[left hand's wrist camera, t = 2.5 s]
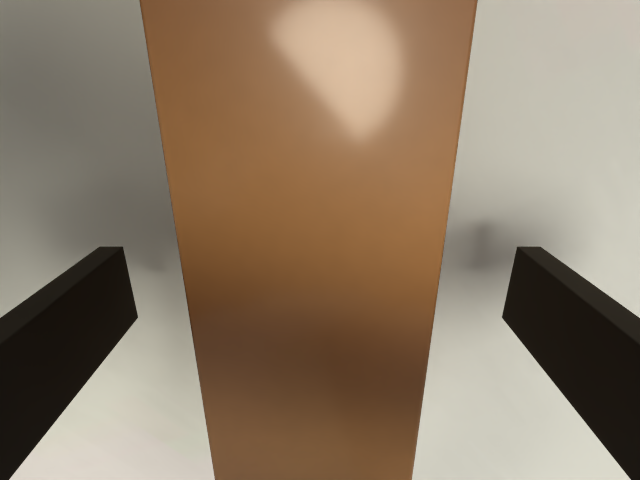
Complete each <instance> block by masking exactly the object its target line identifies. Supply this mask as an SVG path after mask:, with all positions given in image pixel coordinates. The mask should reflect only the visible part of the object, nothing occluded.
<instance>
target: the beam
mask: <svg viewBox="0 0 640 480" xmlns="http://www.w3.org/2000/svg"><path fill="white" fill-rule="evenodd" d="M477 1H478V0H140V6H141V12H142V19H143V25H144V31H145V38H146V44H147V50H148V57H149V63H150V70H151V76H152V82H153V89H154V95H155V101H156V108H157V114H158V120H159V127H160V133H161V139H162V146H163V152H164V158H165V165H166V171H167V177H168V184H169V190H170V196H171V203H172V209H173V216H174V222H175V228H176V235H177V241H178V247H179V254H180V260H181V266H182V273H183V279H184V285H185V292H186V298H187V304H188V311H189V317H190V323H191V330H192V336H193V343H194V349H195V355H196V362H197V368H198V374H199V381H200V387H201V393H202V400H203V406H204V412H205V419H206V425H207V431H208V438H209V444H210V450H211V457H212V463H213V469H214V476H215V480H412V474H413V466H414V459H415V452H416V445H417V437H418V430H419V423H420V416H421V408H422V401H423V394H424V387H425V379H426V372H427V365H428V357H429V350H430V343H431V336H432V328H433V321H434V314H435V307H436V299H437V292H438V285H439V278H440V270H441V263H442V256H443V248H444V241H445V234H446V227H447V219H448V212H449V205H450V198H451V190H452V183H453V176H454V168H455V161H456V154H457V147H458V139H459V132H460V125H461V118H462V110H463V103H464V96H465V89H466V81H467V74H468V67H469V59H470V52H471V45H472V38H473V30H474V23H475V16H476V9H477Z"/></svg>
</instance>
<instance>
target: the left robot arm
mask: <svg viewBox="0 0 640 480" xmlns="http://www.w3.org/2000/svg"><path fill="white" fill-rule="evenodd" d="M137 318H138V315H137V311H136V306H135V301H134V297H133V292H132V287H131V283H130V278H129V273H128V269H127V264H126V259H125V255H124V250H123V247H99V248H97V249H96V250H94V251H93V252H92V253H90V254H89V255H88V256H86V257H85V258H83V259H82V260H81V261H79V262H78V263H76V264H75V265H74V266H72V267H71V268H69V269H68V270H67V271H65V272H64V273H62V274H61V275H60V276H58V277H57V278H55V279H54V280H53V281H51V282H50V283H49V284H47V285H46V286H44V287H43V288H42V289H40V290H39V291H37V292H36V293H35V294H33V295H32V296H30V297H29V298H28V299H26V300H25V301H23V302H22V303H21V304H19V305H18V306H16V307H15V308H14V309H12V310H11V311H10V312H8V313H7V314H5V315H4V316H3V317H1V318H0V480H9V479H10V478H11V476H12V475H13V474H14V473H15V471H16V470H17V469H18V468H19V466H20V465H21V464H22V463H23V461H24V460H25V459H26V458H27V456H28V455H29V454H30V453H31V451H32V450H33V449H34V448H35V446H36V445H37V444H38V442H39V441H40V440H41V439H42V437H43V436H44V435H45V434H46V432H47V431H48V430H49V429H50V427H51V426H52V425H53V424H54V422H55V421H56V420H57V419H58V417H59V416H60V415H61V414H62V412H63V411H64V410H65V409H66V407H67V406H68V405H69V404H70V402H71V401H72V400H73V398H74V397H75V396H76V395H77V393H78V392H79V391H80V390H81V388H82V387H83V386H84V385H85V383H86V382H87V381H88V380H89V378H90V377H91V376H92V375H93V373H94V372H95V371H96V370H97V368H98V367H99V366H100V365H101V363H102V362H103V361H104V360H105V358H106V357H107V356H108V354H109V353H110V352H111V351H112V349H113V348H114V347H115V346H116V344H117V343H118V342H119V341H120V339H121V338H122V337H123V336H124V334H125V333H126V332H127V331H128V329H129V328H130V327H131V326H132V324H133V323H134V322H135V321H136V319H137ZM502 318H503V319H504V321H505V322H506V323H507V324H508V326H509V327H510V328H511V329H512V331H513V332H514V333H515V334H516V336H517V337H518V338H519V339H520V341H521V342H522V343H523V344H524V346H525V347H526V348H527V349H528V351H529V352H530V353H531V354H532V356H533V357H534V358H535V360H536V361H537V362H538V363H539V365H540V366H541V367H542V368H543V370H544V371H545V372H546V373H547V375H548V376H549V377H550V378H551V380H552V381H553V382H554V383H555V385H556V386H557V387H558V388H559V390H560V391H561V392H562V393H563V395H564V396H565V397H566V398H567V400H568V401H569V402H570V404H571V405H572V406H573V407H574V409H575V410H576V411H577V412H578V414H579V415H580V416H581V417H582V419H583V420H584V421H585V422H586V424H587V425H588V426H589V427H590V429H591V430H592V431H593V432H594V434H595V435H596V436H597V437H598V439H599V440H600V441H601V442H602V444H603V445H604V446H605V448H606V449H607V450H608V451H609V453H610V454H611V455H612V456H613V458H614V459H615V460H616V461H617V463H618V464H619V465H620V466H621V468H622V469H623V470H624V471H625V473H626V474H627V475H628V476H629V478H630V479H631V480H640V318H639V317H637V316H636V315H635V314H633V313H632V312H630V311H629V310H628V309H626V308H625V307H623V306H622V305H621V304H619V303H618V302H617V301H615V300H614V299H612V298H611V297H610V296H608V295H607V294H605V293H604V292H603V291H601V290H600V289H598V288H597V287H596V286H594V285H593V284H591V283H590V282H589V281H587V280H586V279H584V278H583V277H582V276H580V275H579V274H578V273H576V272H575V271H573V270H572V269H571V268H569V267H568V266H566V265H565V264H564V263H562V262H561V261H559V260H558V259H557V258H555V257H554V256H552V255H551V254H550V253H548V252H547V251H545V250H544V249H543V248H541V247H517V250H516V254H515V259H514V264H513V269H512V273H511V278H510V283H509V287H508V292H507V297H506V301H505V306H504V311H503V315H502Z"/></svg>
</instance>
